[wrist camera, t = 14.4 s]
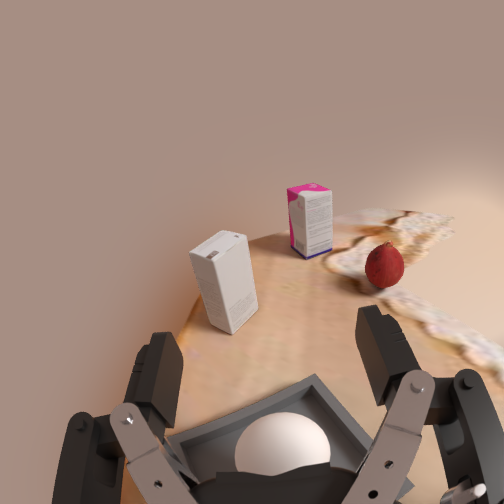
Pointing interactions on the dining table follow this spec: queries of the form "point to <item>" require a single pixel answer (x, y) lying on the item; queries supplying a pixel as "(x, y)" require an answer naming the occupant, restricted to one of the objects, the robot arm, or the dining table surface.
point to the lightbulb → (281, 444)
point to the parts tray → (288, 400)
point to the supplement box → (310, 219)
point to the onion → (384, 265)
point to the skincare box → (225, 280)
